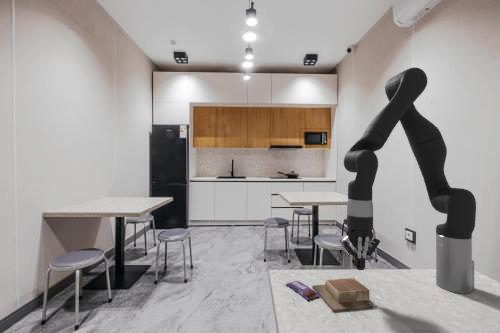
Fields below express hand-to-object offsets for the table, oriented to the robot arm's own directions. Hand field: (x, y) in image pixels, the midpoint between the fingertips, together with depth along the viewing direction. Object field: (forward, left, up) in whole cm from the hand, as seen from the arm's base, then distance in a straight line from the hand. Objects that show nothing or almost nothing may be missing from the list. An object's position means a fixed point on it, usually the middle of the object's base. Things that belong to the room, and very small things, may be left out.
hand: (359, 269), depth 76 cm
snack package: (+17, -5, -9) cm, 20 cm away
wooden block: (-1, 0, -6) cm, 6 cm away
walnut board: (+7, 0, -8) cm, 11 cm away
